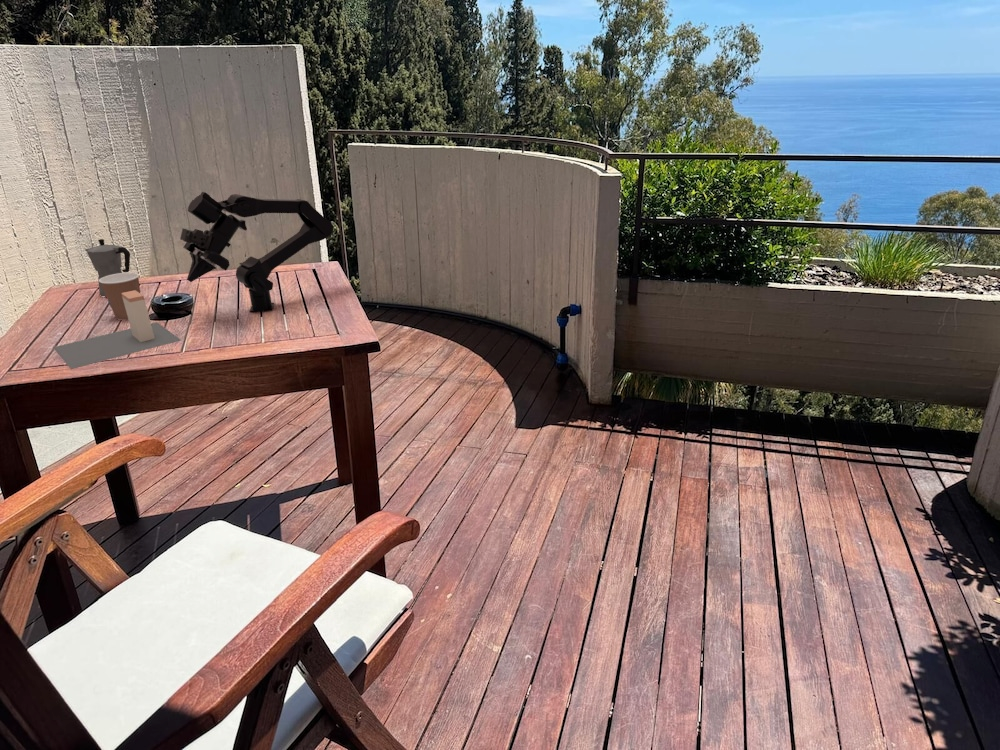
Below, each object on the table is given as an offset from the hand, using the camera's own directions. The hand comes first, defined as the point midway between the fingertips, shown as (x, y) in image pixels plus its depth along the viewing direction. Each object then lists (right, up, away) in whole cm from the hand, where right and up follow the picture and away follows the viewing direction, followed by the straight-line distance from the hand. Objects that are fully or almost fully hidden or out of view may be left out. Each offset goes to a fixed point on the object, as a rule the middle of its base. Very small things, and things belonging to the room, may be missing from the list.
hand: (188, 280), depth 184 cm
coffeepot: (-39, 0, +35) cm, 52 cm away
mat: (-15, -18, -7) cm, 25 cm away
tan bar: (-10, -16, -4) cm, 19 cm away
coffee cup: (-24, -9, +13) cm, 29 cm away
